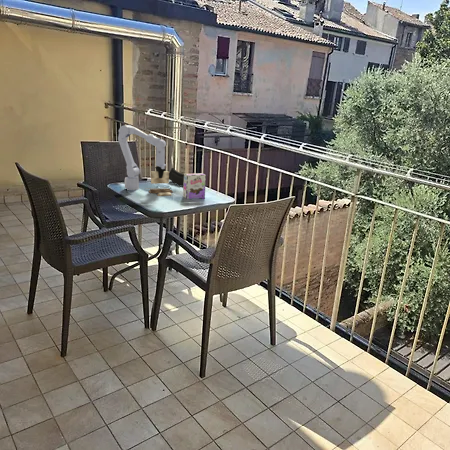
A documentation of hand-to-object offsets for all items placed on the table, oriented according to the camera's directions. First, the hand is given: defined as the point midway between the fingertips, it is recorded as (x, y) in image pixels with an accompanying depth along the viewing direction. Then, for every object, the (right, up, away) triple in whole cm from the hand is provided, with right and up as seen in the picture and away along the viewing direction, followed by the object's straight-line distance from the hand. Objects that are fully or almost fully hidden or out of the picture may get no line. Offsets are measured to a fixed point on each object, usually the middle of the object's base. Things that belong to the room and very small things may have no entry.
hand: (160, 177), depth 283 cm
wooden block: (0, -4, +1) cm, 4 cm away
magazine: (+10, -2, +31) cm, 33 cm away
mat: (-4, -8, +10) cm, 13 cm away
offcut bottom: (+4, -14, -6) cm, 15 cm away
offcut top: (+4, -12, -6) cm, 14 cm away
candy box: (+24, -15, -6) cm, 29 cm away
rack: (0, -11, +1) cm, 11 cm away
